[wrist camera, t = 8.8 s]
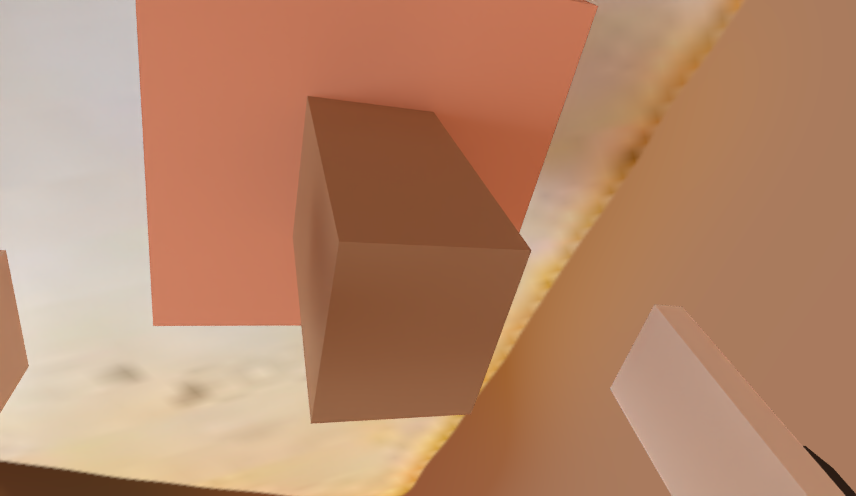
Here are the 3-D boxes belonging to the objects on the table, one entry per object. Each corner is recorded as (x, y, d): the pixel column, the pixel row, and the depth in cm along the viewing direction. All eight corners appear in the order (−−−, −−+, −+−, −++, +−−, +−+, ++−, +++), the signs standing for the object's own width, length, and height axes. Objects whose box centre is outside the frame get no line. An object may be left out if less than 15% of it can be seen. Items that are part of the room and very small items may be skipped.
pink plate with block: (158, 304, 21) (105, 545, 13) (139, -97, 14) (14, -50, 7) (478, 307, 25) (570, 492, 18) (579, -2, 18) (796, 90, 11)
